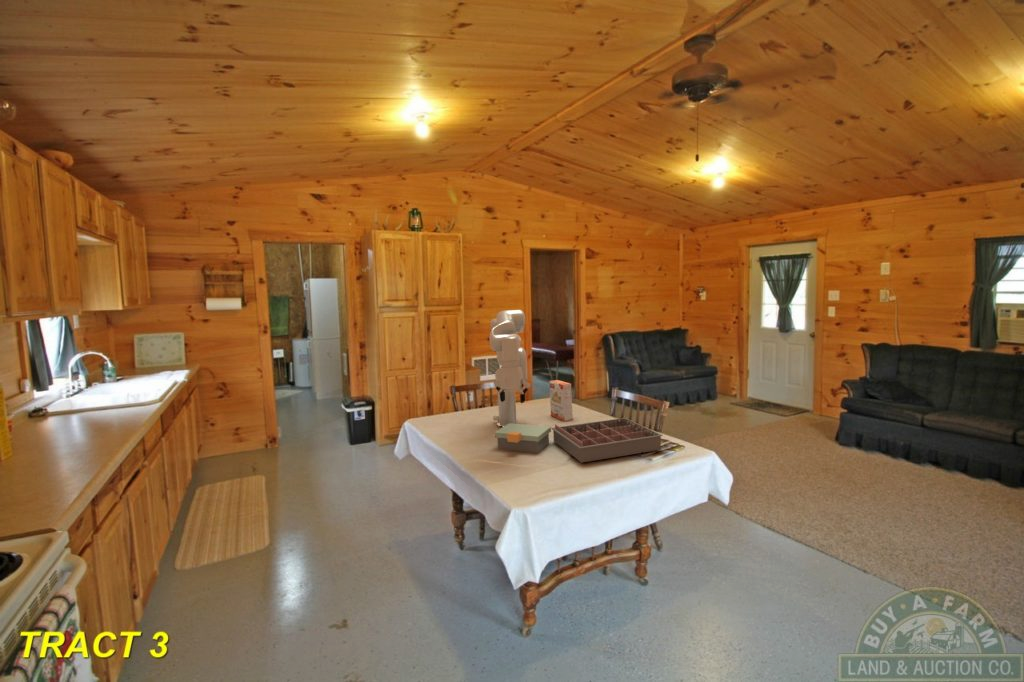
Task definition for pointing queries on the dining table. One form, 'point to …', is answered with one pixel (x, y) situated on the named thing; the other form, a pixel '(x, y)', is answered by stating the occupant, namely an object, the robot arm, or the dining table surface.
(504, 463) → the dining table surface
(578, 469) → the dining table surface
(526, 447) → the tub
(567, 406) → the cracker box
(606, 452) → the organizer tray
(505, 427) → the lid
